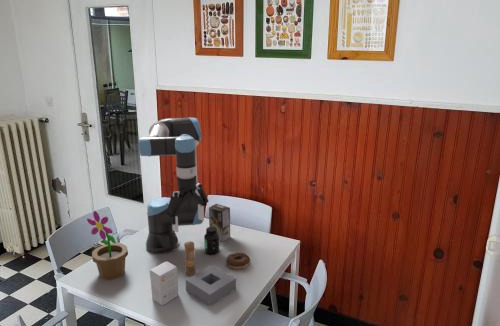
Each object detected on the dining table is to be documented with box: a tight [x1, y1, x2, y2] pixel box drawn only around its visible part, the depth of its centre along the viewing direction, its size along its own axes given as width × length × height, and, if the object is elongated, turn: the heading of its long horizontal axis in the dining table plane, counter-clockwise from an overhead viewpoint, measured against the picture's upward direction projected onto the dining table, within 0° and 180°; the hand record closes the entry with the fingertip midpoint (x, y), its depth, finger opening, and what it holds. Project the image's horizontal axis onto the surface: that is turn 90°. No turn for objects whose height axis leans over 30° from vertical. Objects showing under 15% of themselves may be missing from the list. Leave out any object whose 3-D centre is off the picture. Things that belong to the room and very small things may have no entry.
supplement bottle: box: [203, 226, 220, 256], centre depth 178 cm, size 7×7×12 cm
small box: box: [149, 261, 179, 307], centre depth 146 cm, size 8×6×13 cm
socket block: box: [185, 264, 237, 307], centre depth 152 cm, size 14×14×5 cm
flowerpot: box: [86, 210, 129, 280], centre depth 159 cm, size 14×14×30 cm
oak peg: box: [183, 241, 196, 277], centre depth 161 cm, size 4×4×14 cm
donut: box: [225, 251, 251, 270], centre depth 170 cm, size 11×11×4 cm
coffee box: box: [208, 203, 231, 242], centre depth 192 cm, size 9×6×16 cm
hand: (188, 225), depth 157 cm, fingers open, 13 cm apart
